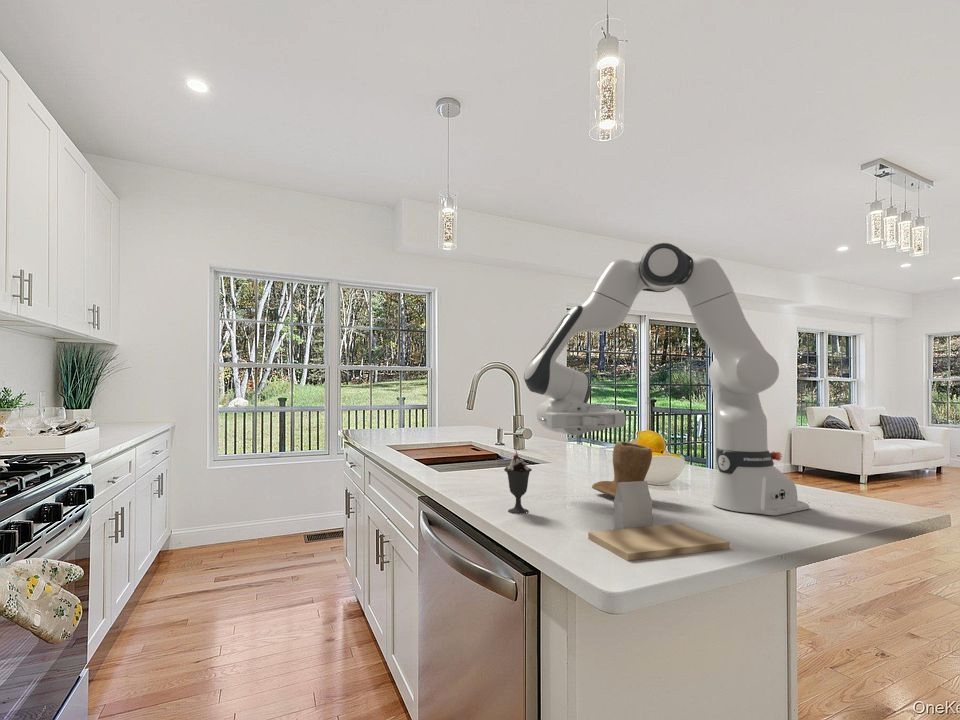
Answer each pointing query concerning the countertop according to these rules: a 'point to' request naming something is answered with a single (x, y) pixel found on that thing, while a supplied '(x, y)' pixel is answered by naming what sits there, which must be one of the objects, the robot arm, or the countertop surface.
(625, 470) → the brown suede boot
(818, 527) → the countertop surface
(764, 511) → the robot arm
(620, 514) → the white printed carton
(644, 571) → the countertop surface
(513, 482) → the sundae
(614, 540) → the oak board
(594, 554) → the countertop surface
